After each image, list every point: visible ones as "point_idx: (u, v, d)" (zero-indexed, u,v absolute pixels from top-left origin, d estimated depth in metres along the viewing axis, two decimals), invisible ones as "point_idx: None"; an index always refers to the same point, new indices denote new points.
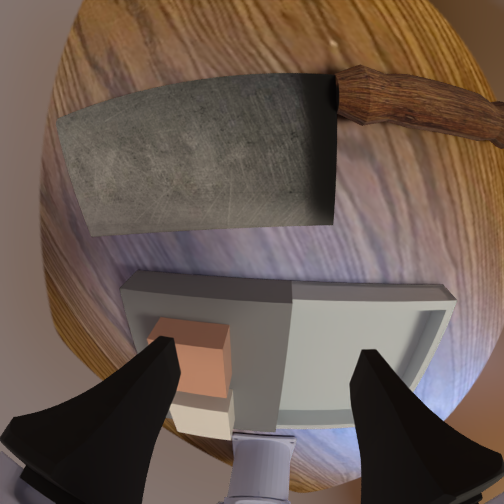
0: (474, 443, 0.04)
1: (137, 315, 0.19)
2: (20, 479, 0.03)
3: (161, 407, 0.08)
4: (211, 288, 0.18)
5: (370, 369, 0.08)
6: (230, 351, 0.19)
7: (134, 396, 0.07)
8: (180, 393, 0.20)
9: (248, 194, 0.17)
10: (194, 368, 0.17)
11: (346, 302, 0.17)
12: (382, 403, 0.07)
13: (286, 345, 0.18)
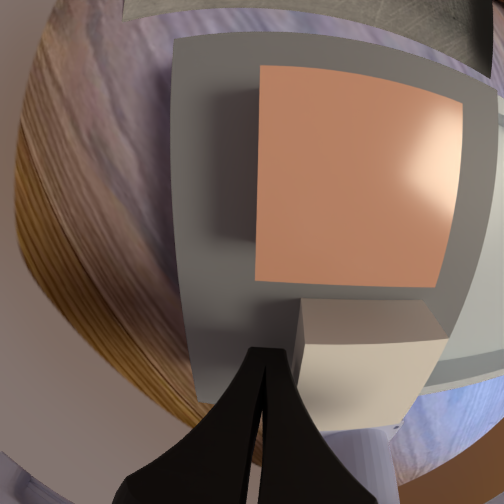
0: (347, 475, 0.04)
1: (203, 93, 0.07)
2: (20, 479, 0.03)
3: (258, 422, 0.08)
4: None
5: (265, 368, 0.08)
6: None
7: (253, 416, 0.06)
8: (328, 319, 0.08)
9: None
10: (391, 167, 0.05)
11: None
12: (266, 405, 0.07)
13: (494, 174, 0.07)
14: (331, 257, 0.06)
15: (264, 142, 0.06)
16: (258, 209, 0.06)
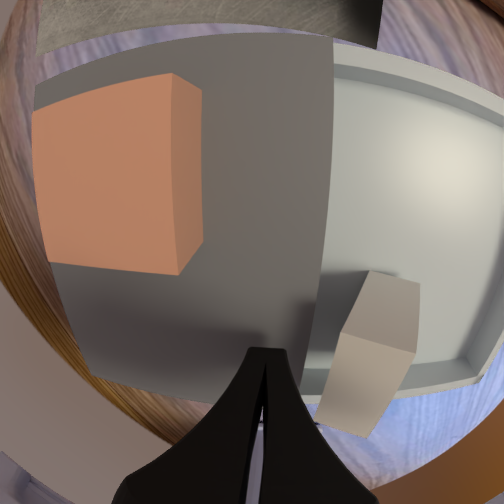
0: (347, 475, 0.04)
1: None
2: (20, 479, 0.03)
3: (258, 422, 0.08)
4: None
5: (266, 368, 0.08)
6: (200, 163, 0.08)
7: (253, 416, 0.06)
8: (384, 328, 0.08)
9: None
10: (100, 163, 0.06)
11: (426, 66, 0.06)
12: (267, 406, 0.07)
13: (329, 140, 0.08)
14: (79, 243, 0.07)
15: (35, 165, 0.06)
16: (38, 210, 0.07)
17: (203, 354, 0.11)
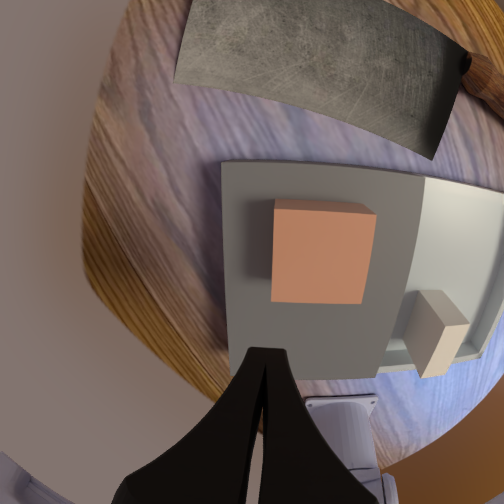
0: (348, 475, 0.04)
1: (241, 200, 0.15)
2: (20, 479, 0.03)
3: (257, 422, 0.08)
4: (337, 165, 0.15)
5: (266, 368, 0.08)
6: None
7: (253, 416, 0.06)
8: (453, 318, 0.15)
9: (378, 100, 0.14)
10: (333, 252, 0.13)
11: (463, 185, 0.14)
12: (267, 405, 0.07)
13: (416, 233, 0.15)
14: (305, 291, 0.14)
15: (275, 244, 0.13)
16: (272, 272, 0.14)
17: (333, 345, 0.18)
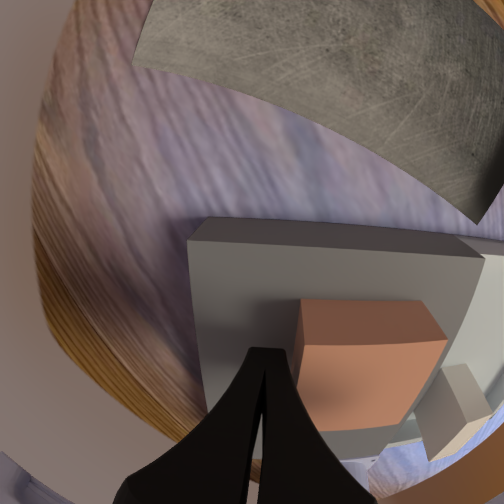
0: (346, 475, 0.04)
1: (219, 296, 0.10)
2: (20, 479, 0.03)
3: (258, 422, 0.08)
4: (370, 238, 0.10)
5: None
6: None
7: (254, 416, 0.06)
8: (476, 408, 0.10)
9: (434, 123, 0.09)
10: (379, 386, 0.08)
11: None
12: (265, 405, 0.07)
13: (458, 328, 0.10)
14: (333, 422, 0.09)
15: (301, 383, 0.08)
16: None
17: (336, 437, 0.13)
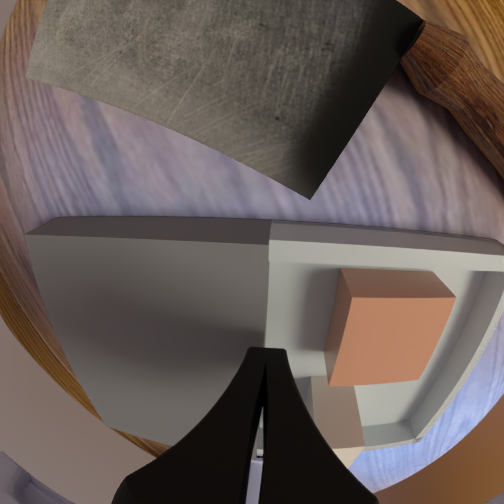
0: (348, 475, 0.04)
1: (45, 275, 0.11)
2: (20, 479, 0.03)
3: (257, 422, 0.08)
4: (137, 228, 0.11)
5: (266, 368, 0.08)
6: (339, 344, 0.10)
7: (253, 416, 0.06)
8: (339, 434, 0.11)
9: (217, 92, 0.09)
10: None
11: (369, 248, 0.09)
12: (267, 406, 0.07)
13: (262, 330, 0.10)
14: None
15: None
16: None
17: (187, 426, 0.14)
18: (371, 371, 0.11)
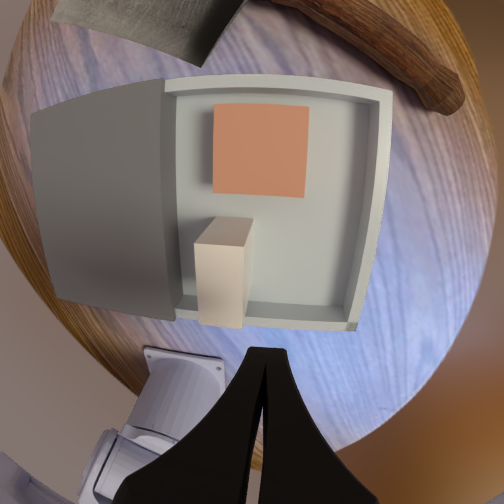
0: (347, 475, 0.04)
1: (38, 137, 0.14)
2: (20, 479, 0.03)
3: (257, 422, 0.08)
4: None
5: (265, 368, 0.08)
6: (213, 146, 0.14)
7: (253, 416, 0.06)
8: (222, 239, 0.14)
9: (154, 18, 0.13)
10: None
11: (225, 76, 0.13)
12: (267, 405, 0.07)
13: (158, 136, 0.14)
14: None
15: None
16: None
17: (113, 268, 0.18)
18: (247, 176, 0.14)
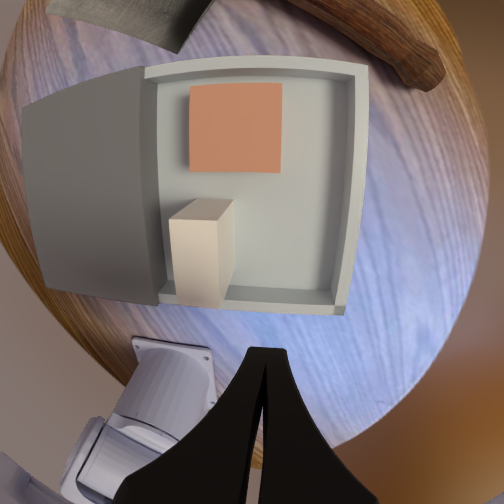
0: (347, 475, 0.04)
1: (28, 129, 0.14)
2: (20, 479, 0.03)
3: (257, 422, 0.08)
4: None
5: (265, 368, 0.08)
6: (189, 126, 0.14)
7: (253, 416, 0.06)
8: (197, 215, 0.14)
9: (139, 6, 0.12)
10: None
11: (201, 60, 0.12)
12: (267, 406, 0.07)
13: (138, 120, 0.14)
14: None
15: None
16: None
17: (97, 253, 0.17)
18: (222, 153, 0.14)
